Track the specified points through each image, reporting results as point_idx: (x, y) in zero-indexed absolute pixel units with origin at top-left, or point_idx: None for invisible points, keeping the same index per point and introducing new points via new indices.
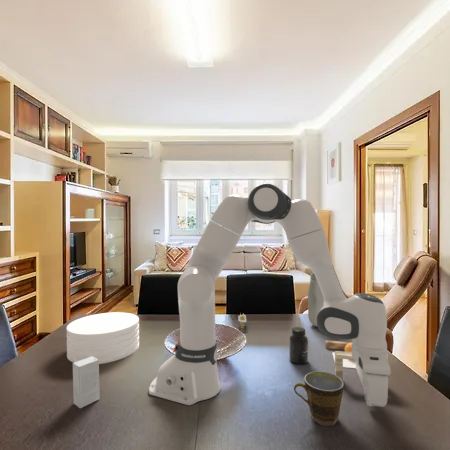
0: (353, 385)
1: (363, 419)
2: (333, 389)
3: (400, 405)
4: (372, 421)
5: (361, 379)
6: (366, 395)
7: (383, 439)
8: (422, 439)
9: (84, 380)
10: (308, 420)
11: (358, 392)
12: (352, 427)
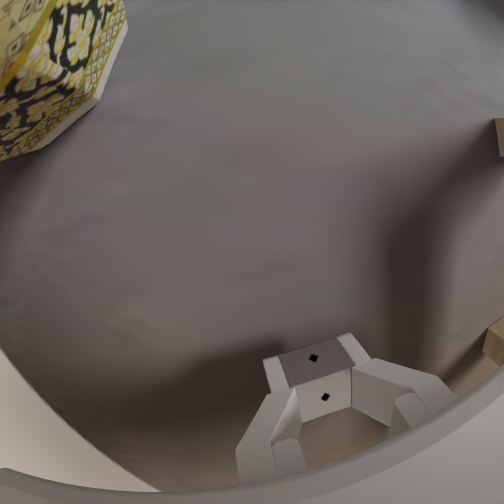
0: (498, 215)
1: (149, 309)
2: (16, 5)
3: (376, 424)
4: (162, 356)
5: (438, 469)
6: (279, 417)
7: (56, 388)
8: (165, 478)
9: None
10: None
11: (456, 247)
12: (32, 250)
